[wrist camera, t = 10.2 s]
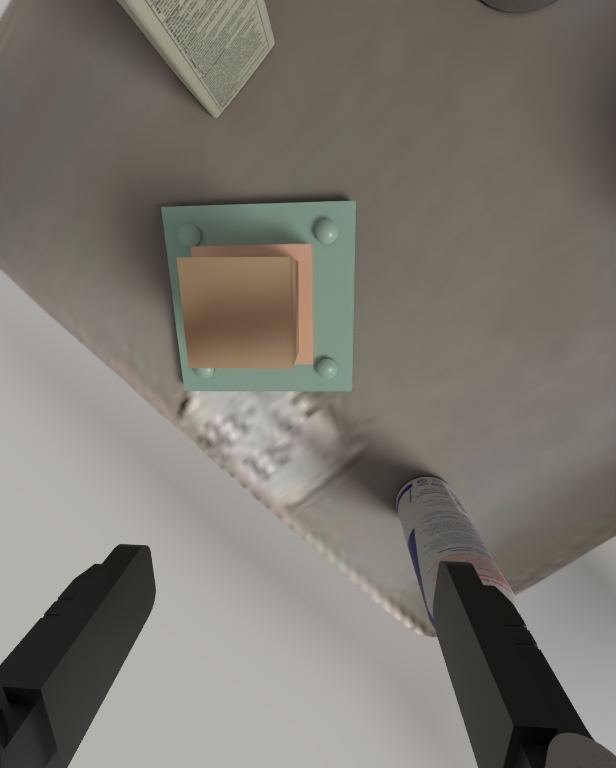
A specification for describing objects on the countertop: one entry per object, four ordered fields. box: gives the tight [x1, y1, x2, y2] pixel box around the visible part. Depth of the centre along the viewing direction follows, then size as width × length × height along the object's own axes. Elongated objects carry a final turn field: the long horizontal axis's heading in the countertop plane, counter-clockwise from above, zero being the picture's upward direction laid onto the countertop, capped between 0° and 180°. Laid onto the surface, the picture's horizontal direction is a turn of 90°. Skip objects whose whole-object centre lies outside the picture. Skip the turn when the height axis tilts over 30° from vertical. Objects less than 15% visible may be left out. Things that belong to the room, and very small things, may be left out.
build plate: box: [161, 201, 356, 391], centre depth 26 cm, size 14×14×4 cm
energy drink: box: [396, 477, 520, 628], centre depth 26 cm, size 5×5×12 cm
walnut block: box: [177, 257, 299, 369], centre depth 21 cm, size 6×6×5 cm
